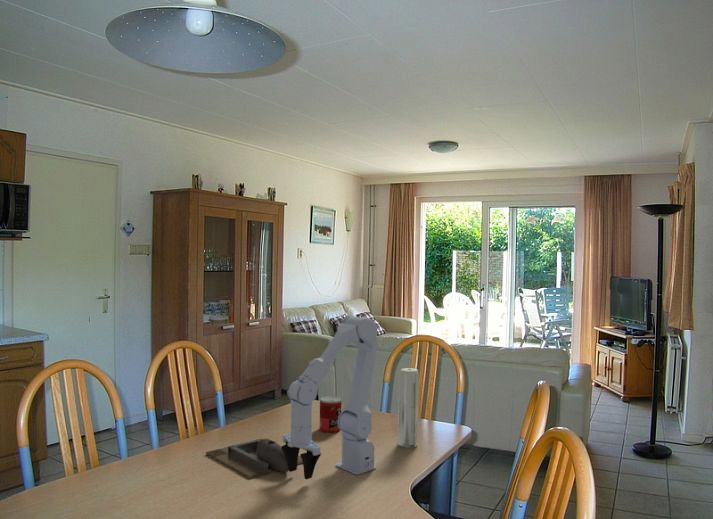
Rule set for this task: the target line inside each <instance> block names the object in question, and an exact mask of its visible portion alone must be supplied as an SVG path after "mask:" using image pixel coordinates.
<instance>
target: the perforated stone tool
mask: <svg viewBox="0 0 713 519" xmlns="http://www.w3.org/2000/svg"><path fill="white" fill-rule="evenodd" d="M261 439H262V440H260V441H259V442H258V444H257V451H255V452H256V453H255V455H256V457H257V458H259V459H261V460H263V461H265V462H267V463H268V468H270V469H272V470H276V471H277V472H280V473H288V472H290V471H289V468H288V464H287V460H286V457H285V454H284V452H283V450H282V449H281V448H282V445H280V444H279V443H278V442H276V441H273V440H271V439H270V438H261Z"/></svg>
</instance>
